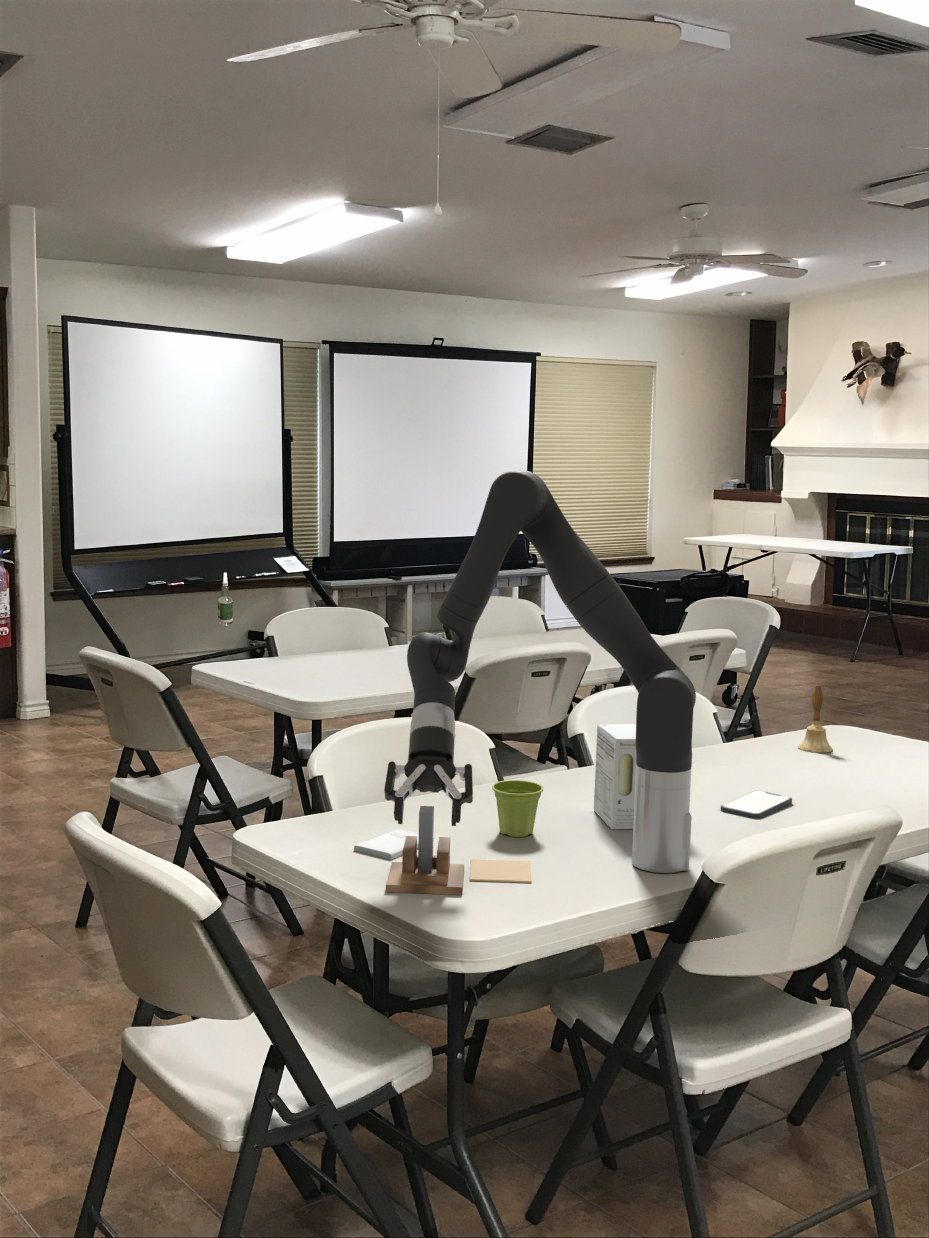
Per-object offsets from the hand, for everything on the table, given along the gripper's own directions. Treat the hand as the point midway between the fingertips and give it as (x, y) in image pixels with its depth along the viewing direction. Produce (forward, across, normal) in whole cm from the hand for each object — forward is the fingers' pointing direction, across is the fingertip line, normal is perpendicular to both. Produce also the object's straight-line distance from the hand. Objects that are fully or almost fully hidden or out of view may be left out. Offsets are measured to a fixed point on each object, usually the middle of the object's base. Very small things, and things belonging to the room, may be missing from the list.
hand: (426, 822), depth 189 cm
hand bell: (-68, +90, +82) cm, 140 cm away
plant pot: (-13, +15, +28) cm, 34 cm away
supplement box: (-21, +38, +36) cm, 56 cm away
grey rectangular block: (+5, 0, +8) cm, 9 cm away
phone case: (-29, +64, +44) cm, 83 cm away
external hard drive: (-6, -7, +21) cm, 23 cm away
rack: (+6, 0, +8) cm, 10 cm away
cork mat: (+2, +12, +12) cm, 17 cm away
